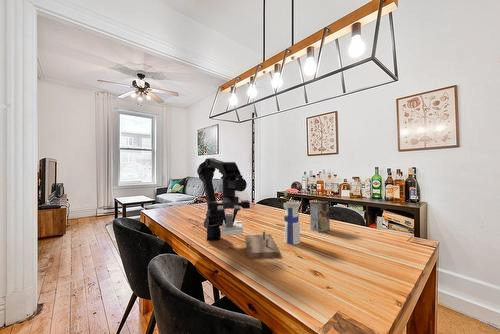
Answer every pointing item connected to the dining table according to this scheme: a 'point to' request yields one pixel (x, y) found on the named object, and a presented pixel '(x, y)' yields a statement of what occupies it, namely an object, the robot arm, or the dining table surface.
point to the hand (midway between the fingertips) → (229, 223)
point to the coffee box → (319, 216)
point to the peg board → (261, 246)
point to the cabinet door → (231, 226)
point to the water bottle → (291, 222)
